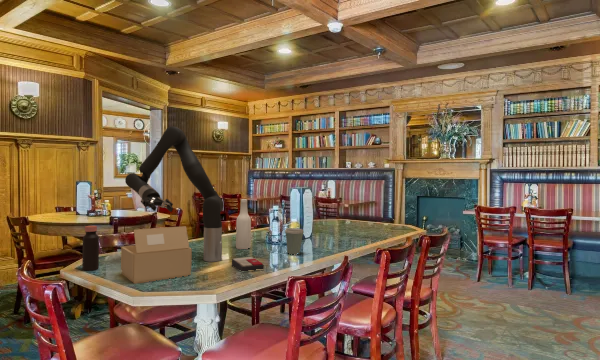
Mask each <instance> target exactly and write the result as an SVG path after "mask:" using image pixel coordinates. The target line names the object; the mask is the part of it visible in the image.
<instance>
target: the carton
mask: <svg viewBox="0 0 600 360" xmlns="http://www.w3.org/2000/svg"><path fill="white" fill-rule="evenodd" d="M120 250H121V251H120V270H121V274H122V275H123V276H124V277H125V278H127V279H128V280H129V281H130V282H132V283H133V284H135V285H136V284H142V283H149V281H150V282H155V281H156V280H157V281H162V279H163V280H170V279H176V278H175V277H177V278H183V277H182V276H184V277H189V276H188V275H191V276H192V274H191V272H192V263H193V261H192V259H193V258H192V257H193V256H192V252H193V248H191V247H190V246H189V248H184V249H174V250H165V251H155V252H145V253H136V245H127V246H126V245H125V246H121V247H120ZM169 278H170V279H169Z"/></svg>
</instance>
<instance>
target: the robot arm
mask: <svg viewBox="0 0 600 360" xmlns="http://www.w3.org/2000/svg"><path fill="white" fill-rule="evenodd" d="M171 147H173V148H174V149H175V150H176V152H177V154H178V156H179V158H180V162H181V166H182V169H183V171H184V173H185V175H186V177H187V178H188V180H189V181H190V183H192V185H193V186H194V187H195V188H196V189H197V190H198V191H199V192H200V195H202V198H203V200H204V201H203V204H202V222H203V257H202V258H203V261H205V262H210V263H211V262H212V263H213V262H219V261H220V262H221V260H222V261H223V252H222V251H223V240H222V239H223V237H222V236H223V222H222V220H221V212H222V211H223V209H224V202H223V200H222V198H221V197H220V195H219V194H218V193H217V191H216V189H215V188H214V186H213V185H212V182H211V180H210V178H209V176H208V174H207V172H206V171H205V169H204V167H203V165H202V163H201V162H200V160H199V159H198V157H197V155H196V154H195V152H194V151H193V149H192V148H191V146H190V143H189V141H188V139H187V136H186V134H185V132H184V131H183V130H182V129H181V128H179V127H177V126H176V125H175V126H173V125H172V126H168V127H167V128H165V131H164V132H163V134H162V135H161V137H160V139H159V141H158V142H157V144H156V145H155V147H154V148H153V149H152V150H151V152H150V153H149V155H148V156H147V157H146V159H144V160H143V162H142V163H141V164H140V165H139V167H138V170H139V171H140V172H141V173H142V175H141V176H140V175H138V174H137V173H134V172H131V173H128V174H127V175H126V176H125V185H127V186H128V187H129V188H130V189H132V191H135V193H136V194H137V195H139V197H140V204H142V205H143V206H144V207H145V208H147V207H148V208H149V209H151V210H153V212H155V211H156V210H157V208H158V207H160V208H165V209H166V210H168V212H171V213H172V212H173V209H174V207H173V205H174V203H173V202H172V201H170V199H168V198H165V199H163V198H162V197H161V195H160V193H159V192H158V191H157V190H156V189H155V188H154V187H152V186H151V185H150V184H149V183H148V182H149V180H150V179H151V178H150V177H151V176H152V174H153V173H154V172H155V170H156V169H157V168H158V167H159V165H160V164H161V162H162V160H163V158H164V156H165V155H166V154H167V152H168V151H169V149H170V148H171Z"/></svg>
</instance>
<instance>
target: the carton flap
mask: <svg viewBox="0 0 600 360" xmlns="http://www.w3.org/2000/svg"><path fill="white" fill-rule="evenodd" d="M133 235H134V243H135V245H136V253H145V252H155V251H165V250H174V249H184V248H189V247H190V243H189V238H188V237H189V236H188V229H187V226H185V225H184V226H182V225H181V226H169V227H155V228H154V227H153V228H140V229H133ZM135 245H134V246H135Z"/></svg>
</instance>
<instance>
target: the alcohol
mask: <svg viewBox="0 0 600 360" xmlns="http://www.w3.org/2000/svg"><path fill="white" fill-rule="evenodd" d="M239 209H240V210H239V214H238V216H237V217H236V225H235V226H236V231H235V232H236V233H235V248H236V249H237V250H241V249H246V250H249V249H248V248H250V249H251V246H252V245H251V244H252V241H251V240H252V233H251V232H252V219H251V216H250V215H249V213H248V212H249V211H248V199H246V198H242V199H240V208H239Z"/></svg>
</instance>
